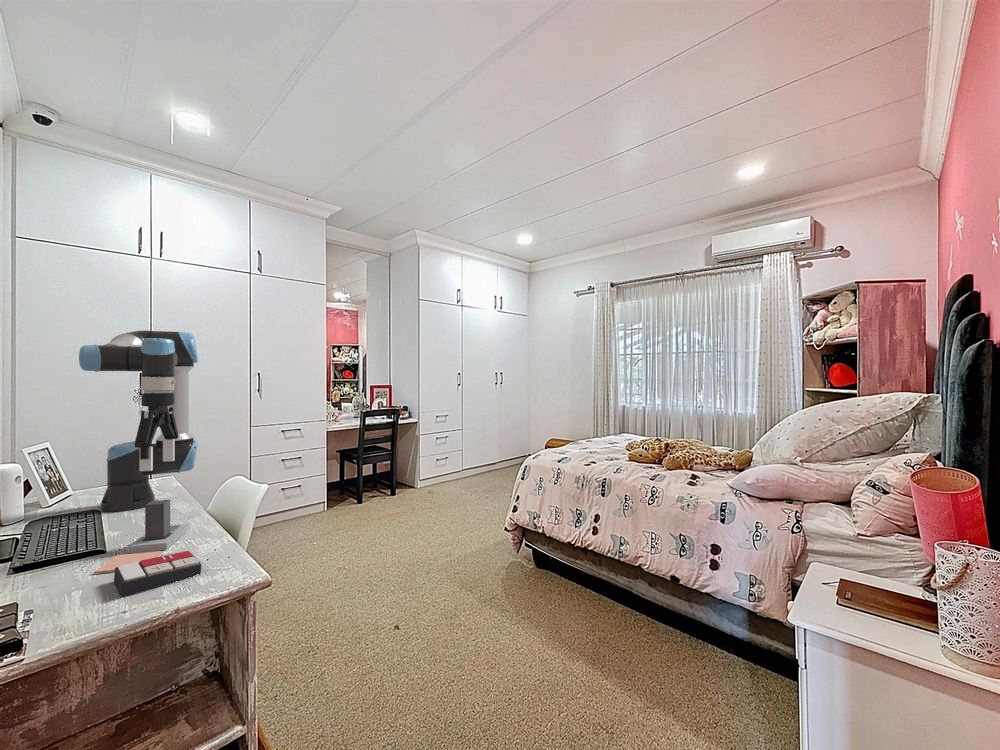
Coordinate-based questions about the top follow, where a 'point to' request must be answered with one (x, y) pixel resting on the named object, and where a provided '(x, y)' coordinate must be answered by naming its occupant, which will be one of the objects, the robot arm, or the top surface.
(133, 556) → the mat
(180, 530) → the grey flat block
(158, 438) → the robot arm
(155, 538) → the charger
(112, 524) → the top surface
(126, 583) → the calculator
